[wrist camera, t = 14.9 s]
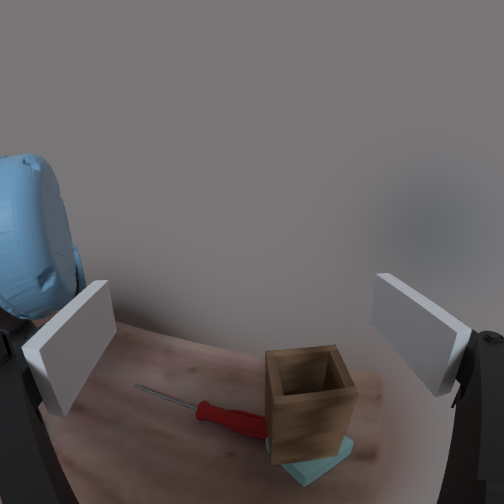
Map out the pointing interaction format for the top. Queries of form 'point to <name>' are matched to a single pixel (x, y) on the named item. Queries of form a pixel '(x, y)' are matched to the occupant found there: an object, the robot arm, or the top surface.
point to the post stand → (316, 464)
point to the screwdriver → (225, 417)
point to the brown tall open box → (306, 403)
